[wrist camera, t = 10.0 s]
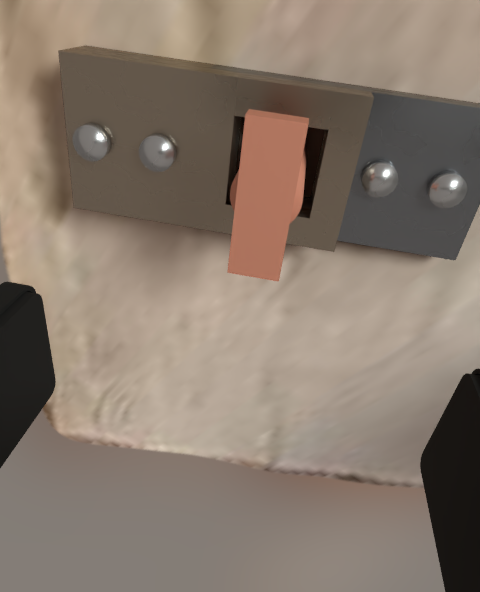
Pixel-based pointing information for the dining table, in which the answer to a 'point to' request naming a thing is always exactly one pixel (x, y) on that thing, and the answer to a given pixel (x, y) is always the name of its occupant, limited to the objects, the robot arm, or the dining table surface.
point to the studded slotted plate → (225, 140)
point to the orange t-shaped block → (266, 192)
